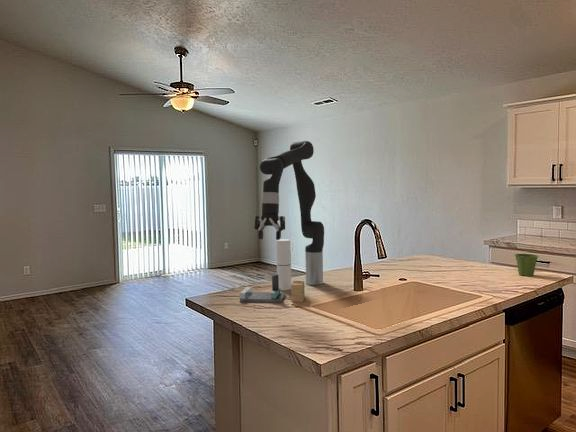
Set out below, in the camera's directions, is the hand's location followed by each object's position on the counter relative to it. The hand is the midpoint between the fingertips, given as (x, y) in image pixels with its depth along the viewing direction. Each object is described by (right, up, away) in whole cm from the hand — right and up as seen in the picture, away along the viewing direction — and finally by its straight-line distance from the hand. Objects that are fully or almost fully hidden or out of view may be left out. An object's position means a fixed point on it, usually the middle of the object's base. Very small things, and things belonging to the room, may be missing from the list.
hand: (269, 239), depth 192 cm
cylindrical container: (+6, -27, +29) cm, 40 cm away
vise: (-3, -28, +10) cm, 30 cm away
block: (+13, -28, +7) cm, 32 cm away
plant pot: (+141, -23, +49) cm, 151 cm away
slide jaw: (+3, -26, +9) cm, 28 cm away
